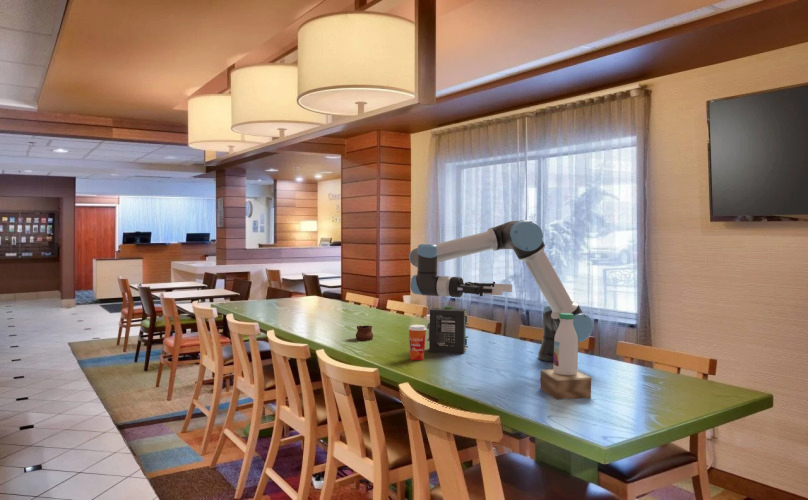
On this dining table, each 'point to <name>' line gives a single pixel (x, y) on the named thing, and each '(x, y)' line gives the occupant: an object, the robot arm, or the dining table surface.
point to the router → (447, 330)
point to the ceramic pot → (364, 333)
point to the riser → (566, 385)
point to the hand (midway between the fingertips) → (507, 289)
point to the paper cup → (417, 341)
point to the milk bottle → (565, 347)
